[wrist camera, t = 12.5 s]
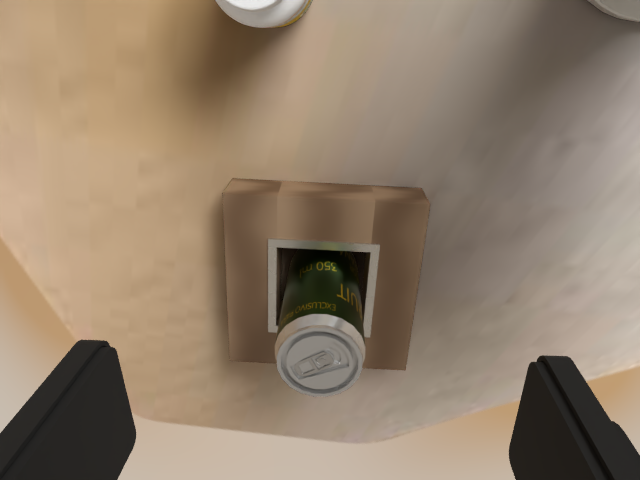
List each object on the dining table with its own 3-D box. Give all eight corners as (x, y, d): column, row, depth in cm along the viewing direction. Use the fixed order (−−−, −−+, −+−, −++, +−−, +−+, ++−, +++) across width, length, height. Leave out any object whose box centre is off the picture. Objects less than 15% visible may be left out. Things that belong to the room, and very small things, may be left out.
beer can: (309, 304, 39) (300, 411, 28) (278, 252, 37) (254, 345, 26) (368, 279, 38) (382, 380, 27) (338, 224, 36) (340, 309, 25)
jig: (421, 188, 35) (430, 204, 32) (399, 343, 40) (405, 370, 37) (232, 178, 35) (222, 193, 32) (237, 334, 41) (229, 360, 37)
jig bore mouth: (379, 243, 33) (380, 245, 33) (369, 336, 36) (370, 337, 36) (268, 237, 33) (267, 239, 33) (268, 330, 36) (268, 332, 36)
